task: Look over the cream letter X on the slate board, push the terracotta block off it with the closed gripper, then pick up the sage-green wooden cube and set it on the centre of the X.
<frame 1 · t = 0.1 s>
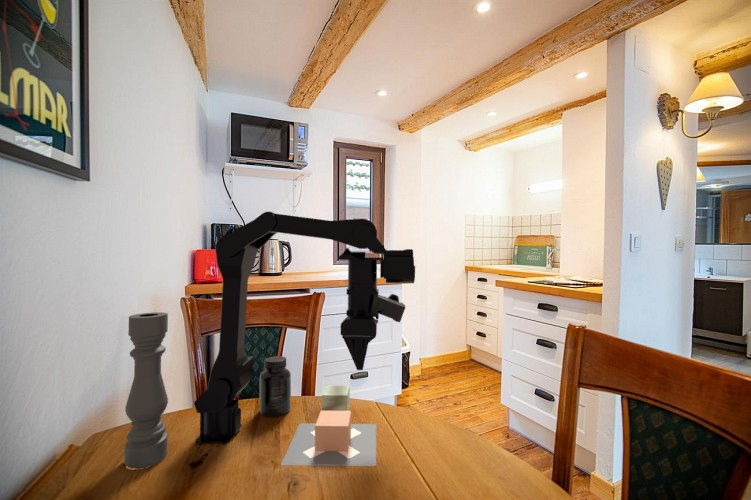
hand: (361, 362, 66), 15 cm above the table, fingers open, 9 cm apart
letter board: (333, 444, 63), on the table
candle holder: (146, 460, 58), on the table
terracotta block: (333, 442, 63), resting on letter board
sage cube: (336, 415, 75), on the table
supplement bottle: (275, 412, 76), on the table
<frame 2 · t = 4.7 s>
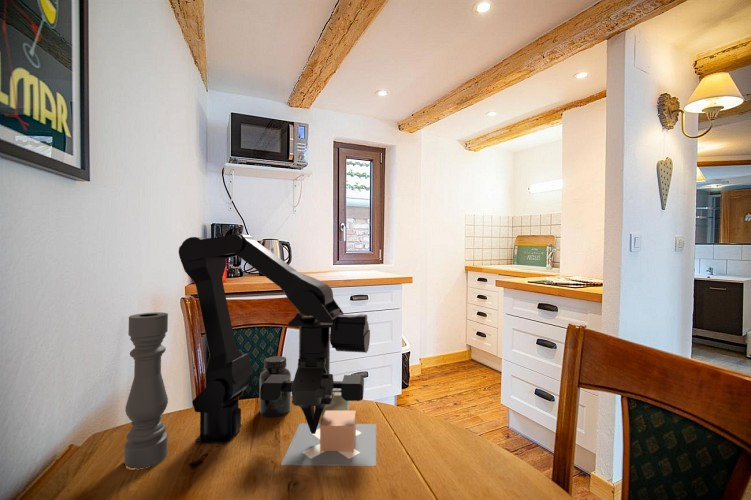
hand: (313, 432, 63), 2 cm above the table, fingers closed
terracotta block: (338, 441, 63), resting on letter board, touching gripper
everything else where it was.
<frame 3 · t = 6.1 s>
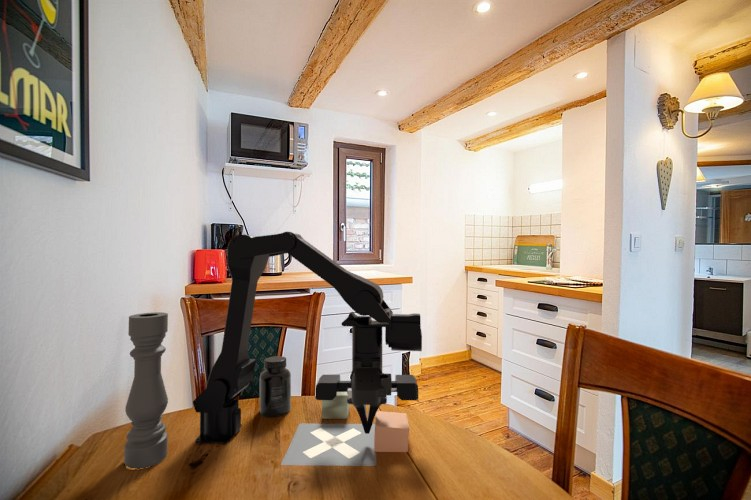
hand: (367, 432, 63), 2 cm above the table, fingers closed
terracotta block: (390, 443, 63), on the table, touching gripper, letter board
everything else where it was.
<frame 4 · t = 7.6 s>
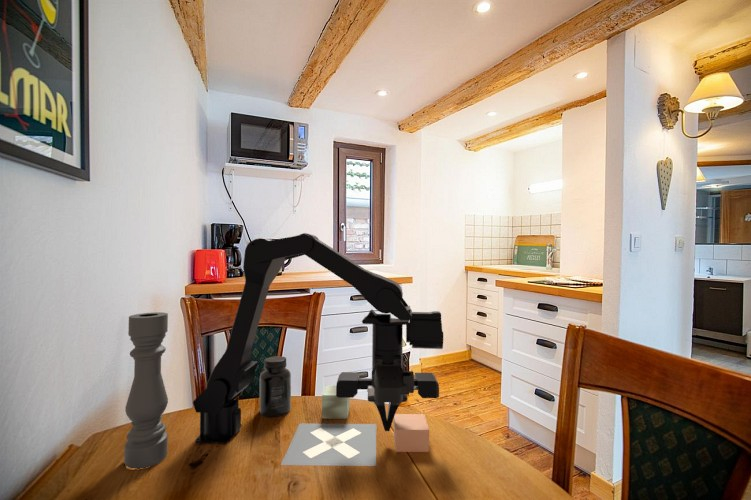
hand: (387, 430, 63), 3 cm above the table, fingers closed
terracotta block: (410, 445, 63), on the table
everything else where it was.
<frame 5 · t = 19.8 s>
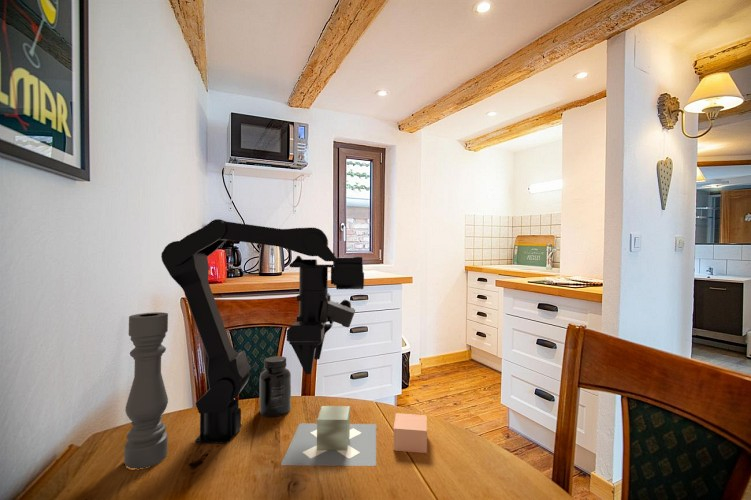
hand: (312, 366, 69), 13 cm above the table, fingers open, 9 cm apart
sage cube: (333, 442, 63), resting on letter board
everything else where it was.
at the end: terracotta block touching table; sage cube 0.0 cm off-centre on the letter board, point 0.4 cm above the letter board's base; sage cube tilted 0° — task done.
